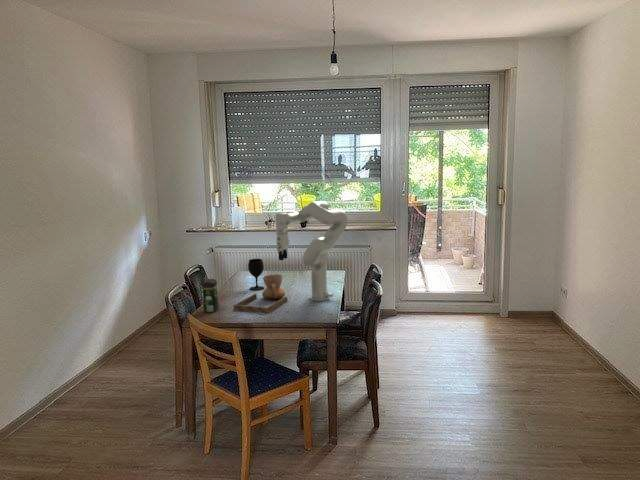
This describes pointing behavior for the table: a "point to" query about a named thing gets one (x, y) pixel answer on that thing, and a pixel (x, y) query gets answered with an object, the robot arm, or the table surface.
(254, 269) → the wine glass
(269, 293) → the ceramic jug
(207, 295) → the coffee jar
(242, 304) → the walnut bay
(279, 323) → the table surface
